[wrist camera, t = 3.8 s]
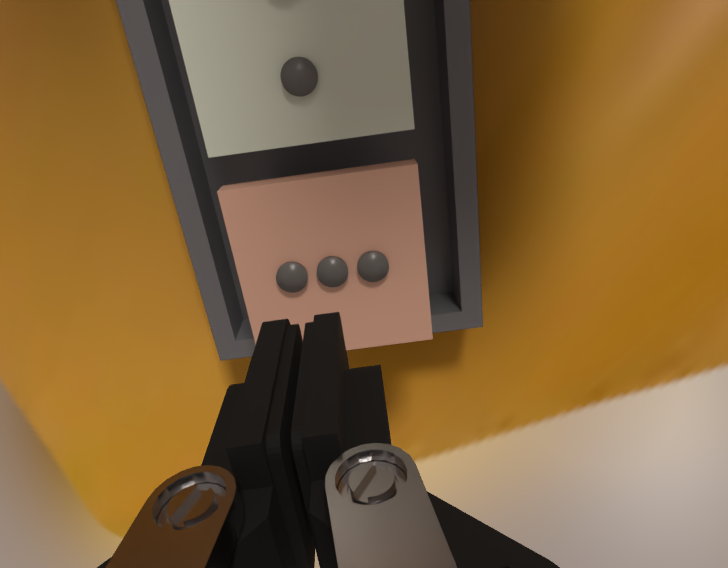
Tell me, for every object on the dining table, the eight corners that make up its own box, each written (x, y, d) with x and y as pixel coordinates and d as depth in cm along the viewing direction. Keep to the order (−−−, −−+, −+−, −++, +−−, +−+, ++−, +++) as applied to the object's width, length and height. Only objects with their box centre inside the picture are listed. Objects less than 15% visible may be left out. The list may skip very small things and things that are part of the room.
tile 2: (384, -100, 15) (392, -133, 12) (405, 118, 17) (415, 130, 15) (177, -69, 15) (142, -95, 12) (227, 143, 17) (206, 159, 15)
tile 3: (408, 148, 17) (418, 165, 15) (422, 305, 20) (433, 342, 17) (234, 173, 18) (215, 192, 15) (270, 325, 20) (258, 364, 18)
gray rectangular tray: (430, -475, 13) (446, -579, 11) (469, 300, 23) (482, 326, 20) (32, -408, 14) (-29, -496, 11) (232, 331, 23) (220, 360, 21)
